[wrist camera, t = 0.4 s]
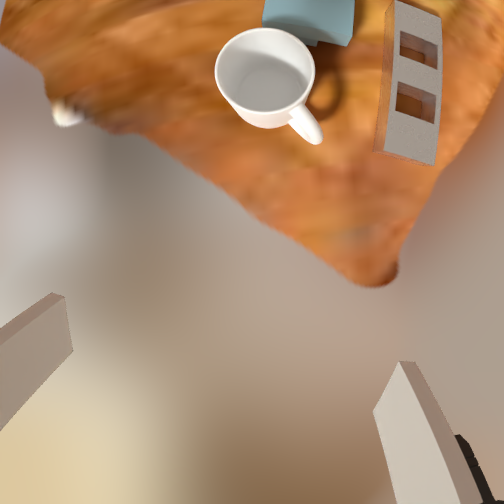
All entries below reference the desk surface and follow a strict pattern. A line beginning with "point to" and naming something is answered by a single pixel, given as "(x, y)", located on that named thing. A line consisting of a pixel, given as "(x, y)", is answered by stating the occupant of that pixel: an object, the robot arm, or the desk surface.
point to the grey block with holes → (410, 85)
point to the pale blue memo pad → (312, 19)
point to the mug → (269, 80)
